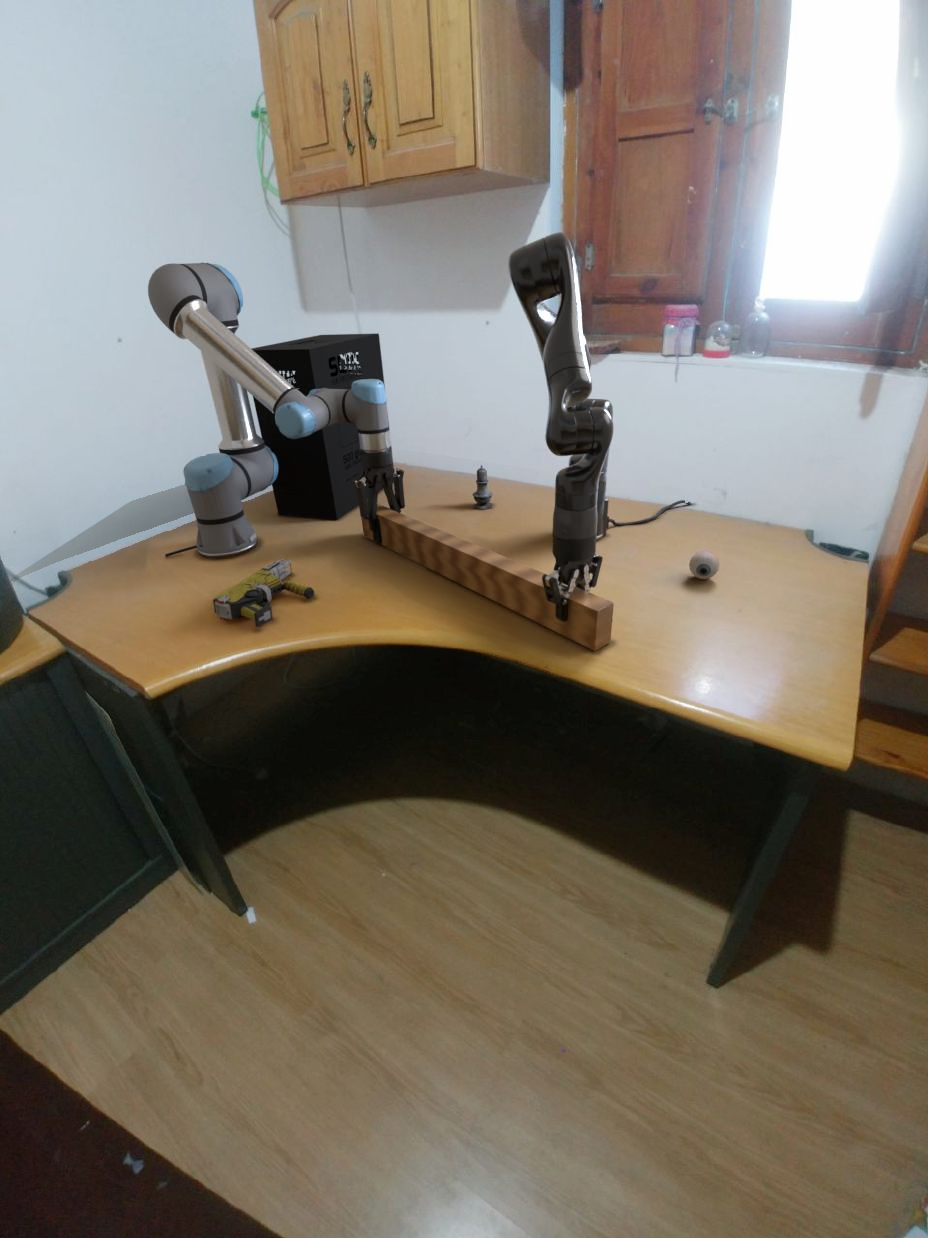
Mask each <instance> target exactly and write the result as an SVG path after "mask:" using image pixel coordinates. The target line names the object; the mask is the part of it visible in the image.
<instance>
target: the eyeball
mask: <svg viewBox="0 0 928 1238" xmlns="http://www.w3.org/2000/svg"><path fill="white" fill-rule="evenodd" d="M688 566H689V571H690V573H691V574H692V575H693V576H694V577H695V578H697V579H701V580H708V579H711V578H713V577H714V576H715V575H716V574H717V573H718V572H719V569H720V559H719V558H718V556H717V555H716V554H715V553H714V552H712V551H709V550H701V551H698V552H696V553H694V554H693V555H692V556H691V558H690V560H689V564H688Z"/></svg>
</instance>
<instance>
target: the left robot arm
mask: <svg viewBox="0 0 928 1238" xmlns="http://www.w3.org/2000/svg"><path fill="white" fill-rule="evenodd" d="M147 296H148V301H149V303H150V306H151V308H152V310H153V312H154V313H155V315H156V317H157V318H158V319H159V320H160V322H161V323H162V324H163V325H164V326H165V327H166V328H167V329H168V330H169V331H170V332H171V333H173V334H174V335H175V336H176V337H177V338H178V339H180V340H187V341H189V342H190V343H191V344H193V345H194V346H195V347H196V348H197V349H198V350H199V351H200V354H201V358H202V362H203V366H204V370H205V375H206V378H207V382H208V386H209V390H210V394H211V398H212V402H213V406H214V410H215V414H216V417H217V422H218V427H219V430H220V434H221V438H222V439H221V441H220V442H219V444H218V445H217V447H218V451H219V452H213V453H207V454H206V455H199V456H197V457H195V458H193V459H191V460H190V461H188V462H187V463H186V464H185V466H184V468H183V471H182V472H183V477H184V485H185V487H186V490H187V493H188V496H189V499H190V502H191V506H192V509H193V513H194V517H195V520H196V523H197V531H196V545H192V546H188V547H185V548H182V549H177V550H175V551H171V552H168V553H165V554H164V556H165V558H167V557H170V556H174V555H178V554H180V553H185V552H187V551H192V550H195V549H196V550H197V554H198V555H199V556H200V557H201V558H204V559H208V560H224V559H225V560H226V559H230V558H235V557H240V556H243V555H245V554H247V553H249V552H251V551H253V550H254V549H256V548H257V547H258V546H259V538H258V535H257V533H256V531H255V530H254V528H253V526H252V525H251V522H250V521H249V520H248V519H247V517H246V515H245V510H244V507H243V504H242V501H243V500H245V499H247V498H249V497H251V496H254V495H255V494H258V493H261V492H263V491H265V490H266V489H268V488H269V487H270V486H272V484H273V482H274V481H275V480H276V478H277V475H278V461H277V458H276V456H275V454H274V453H273V452H271V449H270V448H269V447H267V446H266V445H265V443H264V439H262V437H261V436H259V434H257V430H256V426H255V420H254V415H253V412H252V407H251V402H250V399H249V394H250V395H251V396H252V397H253V396H254V397H255V398H256V399H257V400H258V401H259V402H261V403H262V404H263V405H264V406H265V407H266V408H268V409H269V410H270V411H271V412H272V413H273V414H274V415H275V422H276V425H277V426H278V428H279V430H280V432H281V433H282V434H283V435H285V436H286V437H288V438H291V439H298V438H301V437H306V436H309V435H311V434H312V433H314V432H316V431H318V430H320V429H323V428H326V427H328V426H330V425H333V424H335V423H356V425H357V431H358V438H359V445H360V449H362V450H361V452H360V454H361V462H362V466H363V473H362V477H361V478H359V479H358V480H357V479H355V480H354V481H353V483H354V485H355V487H356V489H357V496H358V502H359V505H358V508H359V509H358V510H359V515H360V518H361V517H363V518H365V519H367V520H368V521H369V528H370V530H371V531H373V538H374V541H373V542H374V543H377V544H379V545H381V543H382V539H381V531H380V522H379V519H378V518H376V513H377V504H378V498H379V493H380V491H379V489H380V488H381V487H383V489H382V490H383V491H384V494H385V497H386V500H387V504H388V506H389V509H392V510H394V511H396V512H399V513H401V514H402V509H405V507H406V503H405V501H406V500H405V491H404V475H405V471H404V470H403V469H400V468H398V467H396V468H395V466H394V459H392V457H393V449H392V450H391V449H390V448H389V447H390V446H391V447H392V440H391V431H389V430H390V424H389V425H388V421H389V413H388V414H387V412H388V405H387V404H388V403H387V402H388V398H387V395H386V388H384V385H385V383H384V384H383V382H382V381H380V380H378V379H362V380H357V381H354V382H353V383H352V389H327V388H322V389H313V390H311V391H310V392H309V394H308V395H307V397H306V396H304V395H303V394H302V393H301V392H300V391H298V390H297V389H296V388H295V387H294V386H293V385H291V382H290V383H289V382H288V381H289V380H288V379H287V380H288V381H287V380H286V379H285V378H284V376H283V377H282V376H281V375H280V374H281V373H280V372H279V373H278V372H277V371H276V370H275V369H273V368H272V367H271V366H270V365H269V364H268V363H267V362H265V361H264V360H263V359H262V358H261V357H260V356H259V355H258V354H256V353H255V352H254V351H253V350H252V349H251V347H250V346H249V345H248V344H247V343H245V342H244V341H243V340H242V339H241V338H240V337H239V336H237V334H236V333H237V331H238V329H239V328H240V324H239V319H238V316H239V315H240V314H241V312H242V308H243V306H244V295H243V291H242V288H241V286H240V283H239V282H238V280H237V279H236V277H235V276H234V275H233V274H232V272H230V271H229V270H228V269H227V268H226V267H225V266H222V265H221V264H216V263H209V262H195V263H194V262H193V263H192V262H191V263H188V262H187V263H166V264H163V265H161V266H159V267H158V268H157V269H155V270H154V271H153V272H152V273H151V276H150V277H149V280H148V284H147ZM248 393H249V394H248ZM392 463H393V465H392ZM393 466H394V467H393ZM392 476H393V481H394V482H391V478H392ZM365 481H366V482H367V483H368V491H369V493H368V499H367V494H366V489H365V486H366V484H365Z"/></svg>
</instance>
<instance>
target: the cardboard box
mask: <svg viewBox="0 0 928 1238" xmlns="http://www.w3.org/2000/svg"><path fill="white" fill-rule="evenodd" d="M250 348H251V347H250ZM251 349H252V350H253V351H254V352H255V353H256V354H258V355H259V356H260V357H261V358H262V359H263V360H264V361H265V362H267V363H268V364H269V365H270V366H271V367H272V368H273V369H275V370H276V371H277V372H278V373H279V374H280V375H281V376H282V377H284V378H285V379H286V380H287V381H288V382H289V383H290V384H291V385H293V386H294V387H295V388H296V389H297V390H298V391H300V392H301V393H302V394H303V395H304V396H306V397H307V395H308V394H309V392H310V391H311V390H313V389H322V388H327V389H352V383H353V382H354V381H357V380H362V379H378V380H380V381H382V382H383V384H384V388H385V387H386V386H385V385H386V384H385V377H384V367H383V358H382V350H381V349H382V348H381V341H380V333H343V334H342V333H340V334H339V333H337V334H319V335H313V336H308V337H302V338H298V339H292V340H288V341H282V342H278V343H273V344H267V345H262V346H257V347H252V348H251ZM341 356H342V357H341ZM355 359H356V361H355ZM357 362H358V363H357ZM385 389H386V388H385ZM252 399H253V403H254V408H255V413H256V417H257V422H258V427H259V431H260V437H261V438H262V439H264V443H265V445H266V446H267V447H269V448H270V449H271V452H273V453H274V454H275V456H276V458H277V461H278V475H277V478H276V480H275V481H274V482H273V484H271V487H272V492H273V496H274V497H273V498H274V501H275V506H276V510H277V514H278V515H280V516H292V517H303V518H312V519H313V518H314V519H324V520H335V521H336V520H339V519H340V518H342V517H344V516H345V515H346V514H348V513H350V512H351V511H352V510H354V509H356V508H357V507H359V502H358V496H357V489H356V487H355V485H354V483H353V481H354V480H355V479H357V480H358V479H359V478H361V477H362V473H363V466H362V462H361V454H360V452H361V450H362V449H360V445H359V438H358V431H357V425H356V423H335V424H333V425H330V426H328V427H326V428H323V429H320V430H318V431H316V432H314V433H312V434H311V435H309V436H306V437H301V438H298V439H291V438H288V437H286V436H285V435H283V434H282V433H281V432H280V430H279V428H278V426H277V425H276V422H275V415H274V414H273V413H272V412H271V411H270V410H269V409H268V408H266V407H265V406H264V405H263V404H262V403H261V402H259V401H258V400H257V399H256V398H255V397H254V396H253V395H252ZM387 414H388V415H389V413H388V411H387ZM388 425H389V426H390V422H389V420H388ZM390 430H391V429H389V431H390ZM390 432H391V431H390ZM389 448H390V449H391V450H392V451H393V449H392V448H393V447H392V445H391V446H390V447H389ZM392 459H393V456H392ZM393 460H394V459H393ZM392 465H393V467H394V468H395V466H394V462H393V463H392ZM391 482H392V483H394V481H393V476H392V478H391ZM365 484H366V486H365V489H366V494H367V500H368V493H369V491H368V483H367V482H366V481H365ZM382 490H384V489H383V487H381V488H380V489H379V492H380V491H382Z"/></svg>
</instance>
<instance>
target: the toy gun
mask: <svg viewBox="0 0 928 1238" xmlns="http://www.w3.org/2000/svg"><path fill="white" fill-rule="evenodd" d="M288 567H290V570H289V571H288V570H287V568H288ZM292 568H293V567H292V562H291V560H290V559H285V560H284V558H278V559H277V560H275V561H273V562H272V563H271V564H268V565H267V566H266V567H262V568H260V569H259V570H258V571H256V572H255V573H253V574H251V575H250V576H248V577H245V579H242V580H241V581H240V582H238V583H237V584H235V585H233V586H232V587H230V588H228V589H226V590H225V591H223V592H222V593H220V594H219V595H217V596H215V597H214V598H213V599H212V604H213V612H214V614H215V615H216V616H217V617H218V618H219V620H221V621H222V620H223V621H225V622H226V621H228V620H232V621H235V620H241V619H244V618H247V619H250V620H251V621H253V622H255V627H256V628H260V627H262V626H263V625H265V624H267V623H268V622H269V623H270V622H271V621H272V620H273V619H274V618H273V611H272V610H273V609H272V606H271V605H270V603H272V600H273V599H272V597H274V596H277V595H278V594H280V593H282V592H283V591H287V592H290V593H292V594H295V595H298V596H299V597H304V598H305V599H307V600H310V599H312V598H313V597H314V596H315V590H314V588H313V587H310V586H306V585H304V584H303V585H302V584H301V583H298V582H295V581H293V580H290V579H289V580H286V581H285V582H282V580H285V579H286V578H287V577H288V576H290V575H292V574H293V569H292Z"/></svg>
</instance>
